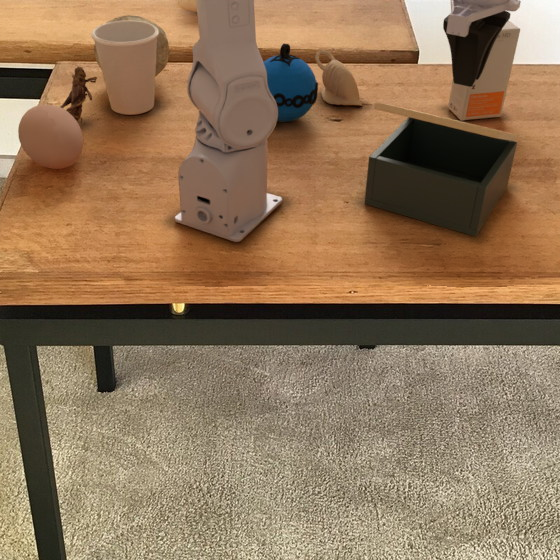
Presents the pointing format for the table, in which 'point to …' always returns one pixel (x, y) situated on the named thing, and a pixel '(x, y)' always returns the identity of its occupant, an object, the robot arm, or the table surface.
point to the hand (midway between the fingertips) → (466, 80)
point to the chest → (439, 175)
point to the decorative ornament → (338, 82)
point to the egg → (50, 136)
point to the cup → (187, 5)
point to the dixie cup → (128, 64)
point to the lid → (447, 122)
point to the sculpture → (161, 48)
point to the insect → (78, 93)
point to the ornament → (290, 84)
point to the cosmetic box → (488, 81)
